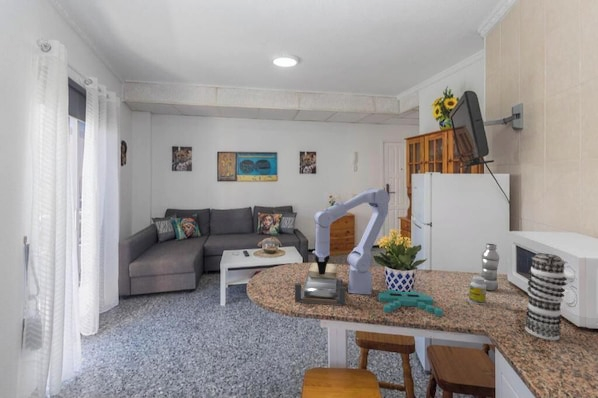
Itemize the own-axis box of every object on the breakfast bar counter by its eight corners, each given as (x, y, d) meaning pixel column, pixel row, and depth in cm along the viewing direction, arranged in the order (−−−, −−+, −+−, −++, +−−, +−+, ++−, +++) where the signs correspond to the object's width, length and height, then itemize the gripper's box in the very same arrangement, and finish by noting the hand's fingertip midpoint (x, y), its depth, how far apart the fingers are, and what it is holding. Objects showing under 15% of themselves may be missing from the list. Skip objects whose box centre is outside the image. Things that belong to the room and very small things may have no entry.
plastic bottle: (494, 293, 123) (498, 247, 121) (476, 288, 128) (479, 244, 126) (499, 290, 127) (503, 245, 125) (482, 285, 132) (485, 242, 130)
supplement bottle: (465, 300, 116) (467, 276, 115) (475, 298, 117) (477, 274, 117) (478, 305, 110) (480, 280, 110) (488, 303, 112) (490, 279, 112)
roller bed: (344, 279, 136) (344, 266, 136) (344, 305, 108) (345, 288, 108) (303, 276, 139) (304, 263, 138) (294, 301, 111) (295, 285, 111)
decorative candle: (542, 341, 87) (549, 259, 85) (516, 325, 96) (522, 251, 94) (569, 340, 88) (577, 259, 86) (541, 324, 97) (547, 251, 95)
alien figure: (442, 317, 102) (423, 294, 122) (442, 311, 102) (424, 289, 122) (384, 313, 104) (375, 291, 124) (384, 307, 104) (375, 286, 124)
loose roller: (304, 299, 113) (304, 289, 112) (305, 295, 117) (305, 285, 116) (335, 302, 111) (335, 292, 110) (335, 297, 115) (335, 287, 114)
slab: (336, 269, 135) (337, 264, 135) (336, 278, 123) (336, 272, 123) (311, 268, 137) (311, 262, 137) (308, 276, 125) (308, 270, 125)
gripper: (314, 237, 125) (313, 267, 126) (311, 244, 111) (310, 279, 112) (330, 237, 124) (329, 268, 125) (329, 245, 110) (329, 280, 111)
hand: (321, 273), depth 119 cm, fingers closed
